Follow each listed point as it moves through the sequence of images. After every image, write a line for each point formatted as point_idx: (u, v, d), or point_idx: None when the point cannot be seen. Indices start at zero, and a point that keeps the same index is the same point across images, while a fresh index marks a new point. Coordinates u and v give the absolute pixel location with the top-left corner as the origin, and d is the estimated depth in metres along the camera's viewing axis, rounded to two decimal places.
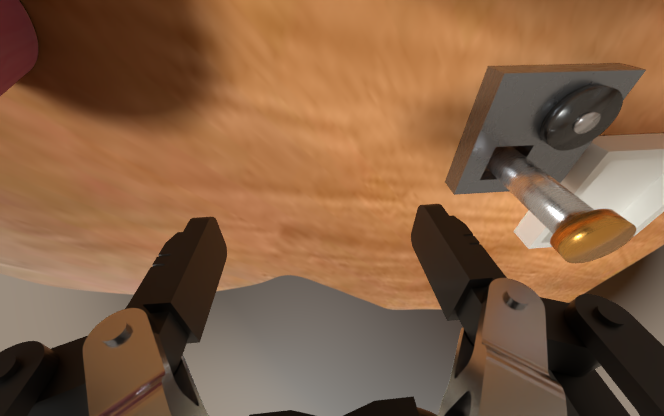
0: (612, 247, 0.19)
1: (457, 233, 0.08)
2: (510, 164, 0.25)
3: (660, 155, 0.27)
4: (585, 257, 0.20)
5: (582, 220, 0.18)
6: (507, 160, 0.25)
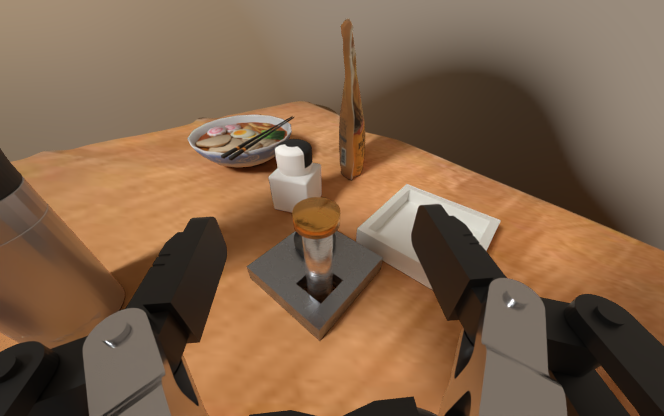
0: (330, 205, 0.25)
1: (457, 233, 0.08)
2: None
3: (384, 209, 0.41)
4: (329, 217, 0.23)
5: None
6: (306, 277, 0.30)
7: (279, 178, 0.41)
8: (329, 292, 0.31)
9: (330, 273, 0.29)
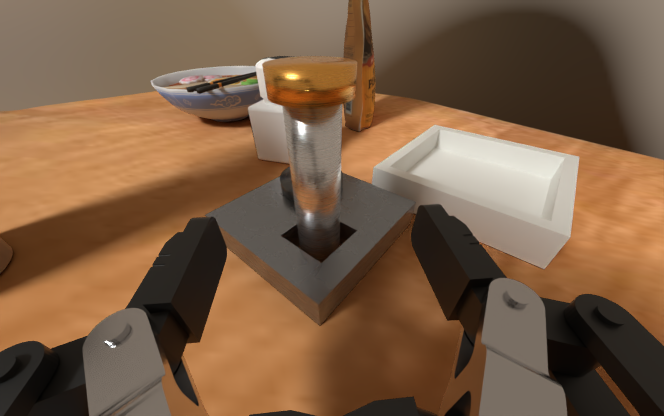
0: (338, 59, 0.13)
1: (457, 233, 0.08)
2: (296, 216, 0.18)
3: (410, 147, 0.29)
4: (335, 65, 0.11)
5: None
6: None
7: (262, 108, 0.30)
8: (335, 249, 0.19)
9: (337, 210, 0.17)
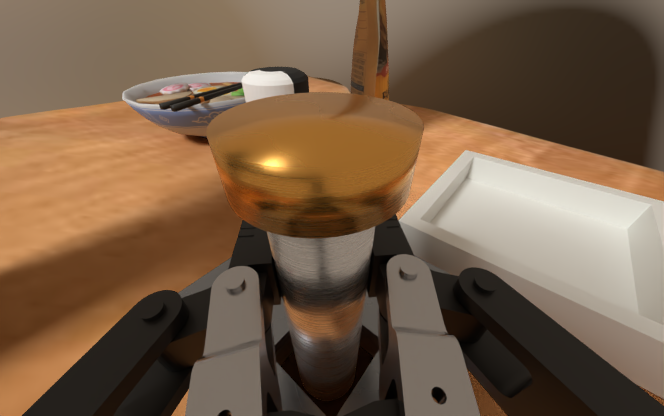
0: (373, 106, 0.06)
1: None
2: None
3: (442, 186, 0.22)
4: (378, 133, 0.05)
5: None
6: None
7: None
8: (351, 374, 0.12)
9: (358, 336, 0.10)
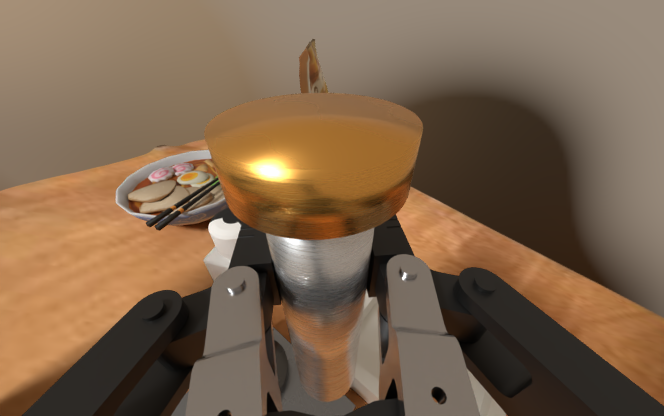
0: (372, 107, 0.06)
1: None
2: None
3: None
4: (377, 133, 0.05)
5: None
6: None
7: (217, 263, 0.30)
8: (351, 375, 0.12)
9: (357, 337, 0.10)
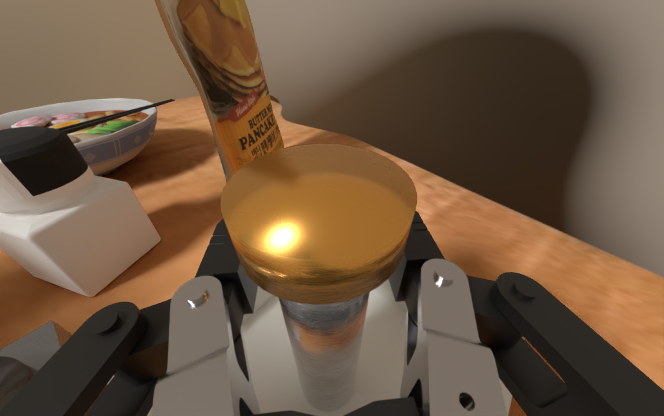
0: (372, 167, 0.07)
1: None
2: None
3: None
4: (376, 208, 0.05)
5: None
6: None
7: None
8: (350, 388, 0.13)
9: (357, 358, 0.11)
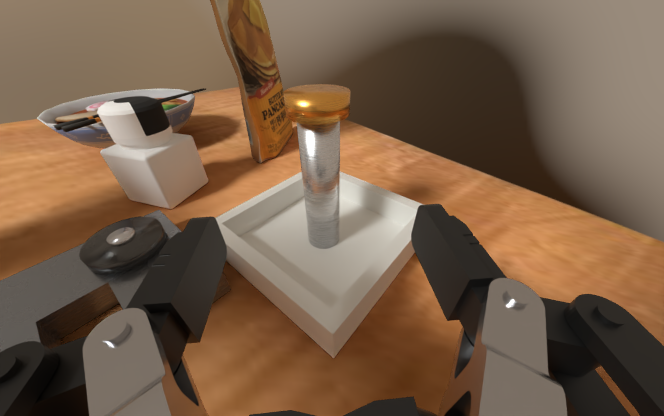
0: (336, 88, 0.18)
1: (457, 233, 0.08)
2: (305, 205, 0.23)
3: (265, 195, 0.27)
4: (335, 94, 0.16)
5: None
6: None
7: (112, 152, 0.28)
8: (335, 231, 0.24)
9: (337, 199, 0.22)
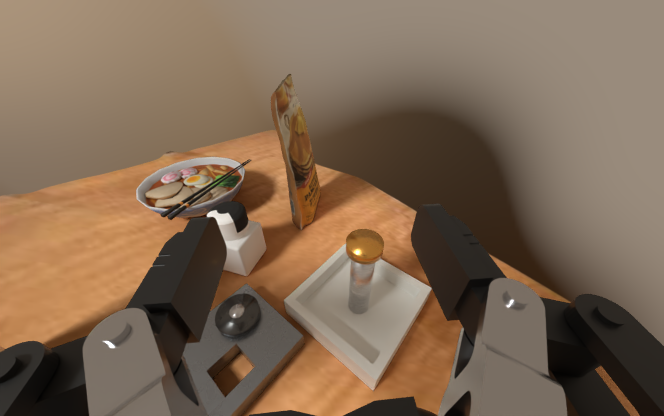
0: (375, 236, 0.31)
1: (457, 233, 0.08)
2: (349, 289, 0.36)
3: (318, 274, 0.40)
4: (376, 247, 0.30)
5: (346, 248, 0.31)
6: (349, 291, 0.37)
7: None
8: (367, 304, 0.37)
9: (370, 289, 0.35)
